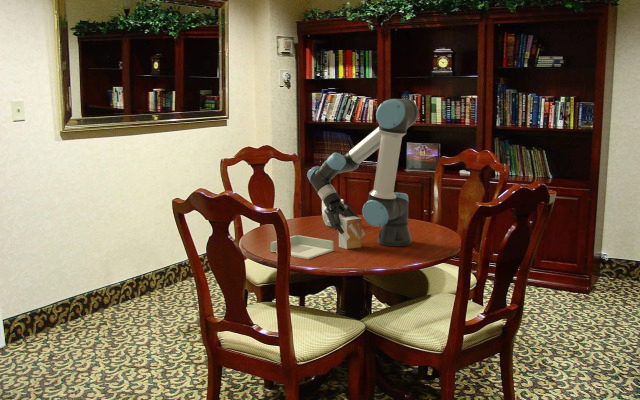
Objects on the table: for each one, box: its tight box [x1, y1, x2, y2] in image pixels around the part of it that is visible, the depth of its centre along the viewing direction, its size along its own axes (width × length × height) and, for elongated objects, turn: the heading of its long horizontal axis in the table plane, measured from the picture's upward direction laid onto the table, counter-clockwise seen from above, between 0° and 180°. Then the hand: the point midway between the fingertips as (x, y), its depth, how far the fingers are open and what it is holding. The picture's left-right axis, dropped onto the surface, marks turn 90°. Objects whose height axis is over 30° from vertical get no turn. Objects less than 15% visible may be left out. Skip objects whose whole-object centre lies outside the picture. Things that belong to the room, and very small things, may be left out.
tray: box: [269, 234, 334, 260], centre depth 285 cm, size 20×18×4 cm
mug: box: [321, 198, 345, 227], centre depth 337 cm, size 15×11×13 cm
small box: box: [338, 216, 363, 250], centre depth 293 cm, size 8×6×13 cm
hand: (355, 237), depth 291 cm, fingers closed on small box, 9 cm apart
